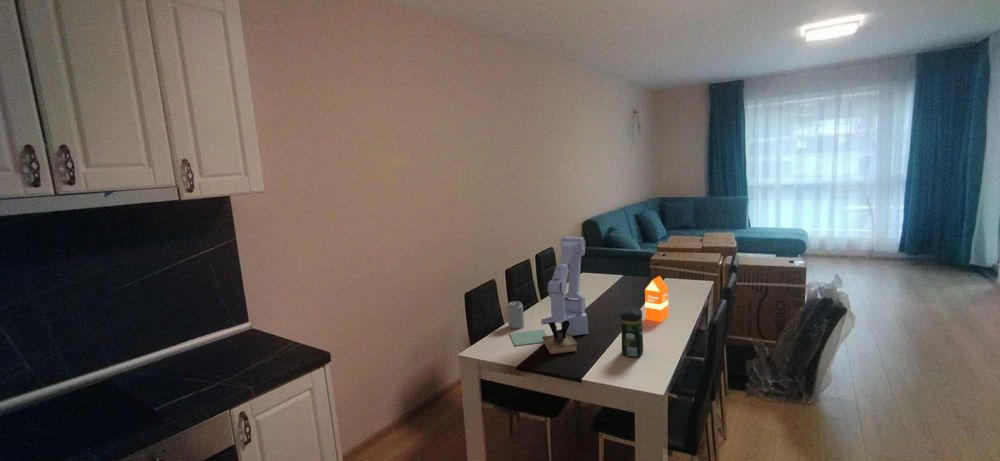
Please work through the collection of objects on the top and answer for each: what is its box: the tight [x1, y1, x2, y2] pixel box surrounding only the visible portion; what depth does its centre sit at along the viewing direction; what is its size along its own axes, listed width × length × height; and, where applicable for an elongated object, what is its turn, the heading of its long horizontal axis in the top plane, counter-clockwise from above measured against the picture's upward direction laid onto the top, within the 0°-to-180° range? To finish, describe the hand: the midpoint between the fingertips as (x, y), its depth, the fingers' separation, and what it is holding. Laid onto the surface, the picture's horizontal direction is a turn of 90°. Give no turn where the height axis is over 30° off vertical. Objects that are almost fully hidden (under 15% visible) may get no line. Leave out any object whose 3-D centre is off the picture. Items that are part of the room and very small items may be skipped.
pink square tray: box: [543, 341, 577, 355], centre depth 190 cm, size 11×11×2 cm
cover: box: [542, 329, 579, 349], centre depth 189 cm, size 12×12×5 cm
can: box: [507, 300, 525, 330], centre depth 217 cm, size 8×8×12 cm
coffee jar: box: [620, 306, 644, 358], centre depth 179 cm, size 10×8×19 cm
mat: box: [509, 329, 548, 347], centre depth 202 cm, size 16×14×1 cm
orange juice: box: [644, 275, 669, 323], centre depth 215 cm, size 8×9×20 cm
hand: (559, 338), depth 190 cm, fingers closed on cover, 3 cm apart
